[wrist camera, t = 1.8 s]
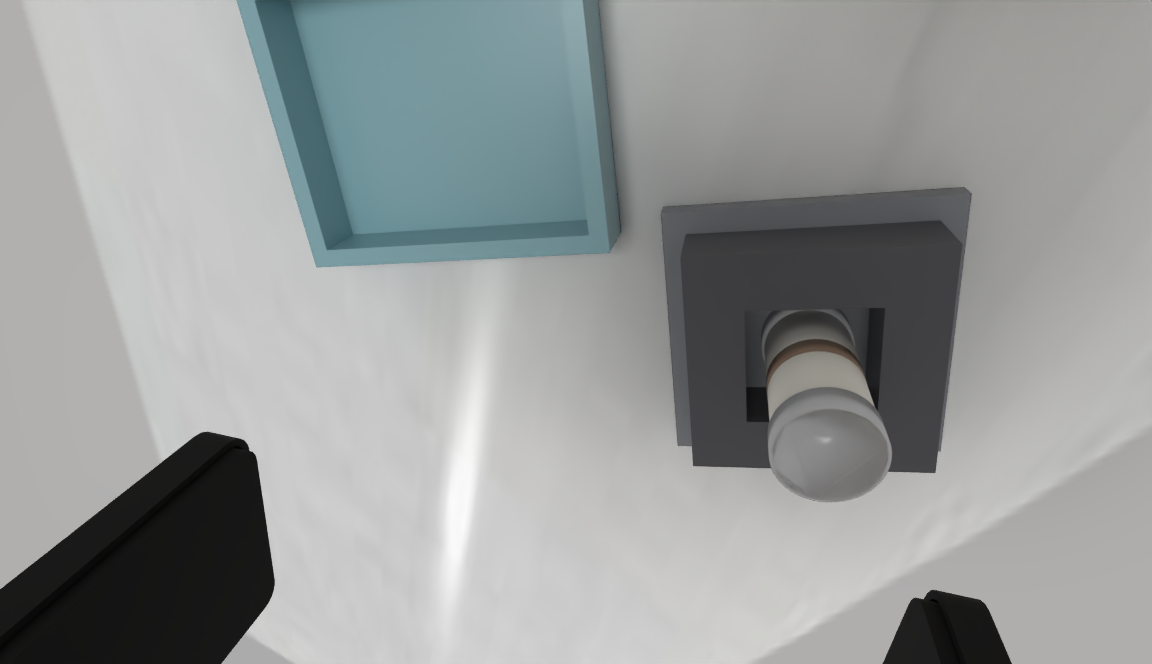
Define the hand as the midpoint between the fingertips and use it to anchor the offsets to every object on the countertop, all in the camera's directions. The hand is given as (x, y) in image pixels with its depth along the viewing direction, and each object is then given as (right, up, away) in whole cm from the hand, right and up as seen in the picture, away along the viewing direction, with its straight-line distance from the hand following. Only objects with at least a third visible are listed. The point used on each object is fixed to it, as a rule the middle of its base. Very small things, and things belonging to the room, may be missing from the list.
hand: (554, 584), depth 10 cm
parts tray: (-5, +13, +20) cm, 25 cm away
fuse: (+11, +3, +20) cm, 23 cm away
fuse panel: (+11, +4, +21) cm, 24 cm away
